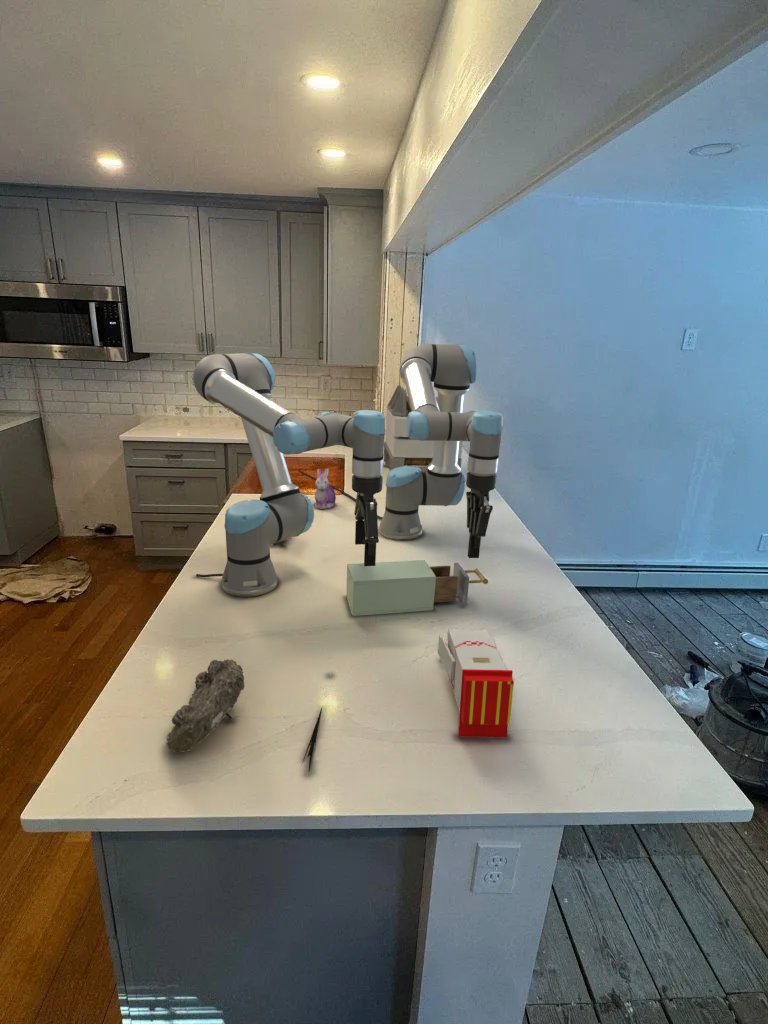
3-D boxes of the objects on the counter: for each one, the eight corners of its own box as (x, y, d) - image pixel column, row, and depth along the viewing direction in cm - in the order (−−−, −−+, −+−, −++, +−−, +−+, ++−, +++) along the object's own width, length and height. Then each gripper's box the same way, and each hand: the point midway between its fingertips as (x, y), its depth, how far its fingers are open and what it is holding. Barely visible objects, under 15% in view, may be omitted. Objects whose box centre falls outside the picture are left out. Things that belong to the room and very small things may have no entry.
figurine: (318, 511, 218) (318, 473, 213) (309, 502, 226) (309, 466, 221) (341, 508, 222) (341, 471, 217) (331, 500, 231) (331, 464, 226)
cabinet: (422, 592, 160) (425, 559, 156) (433, 610, 150) (436, 576, 147) (346, 597, 155) (347, 563, 152) (352, 616, 146) (353, 581, 142)
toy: (488, 613, 130) (523, 677, 101) (484, 667, 133) (517, 744, 104) (435, 612, 130) (455, 676, 101) (432, 666, 133) (451, 743, 103)
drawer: (475, 586, 162) (478, 561, 159) (487, 602, 154) (490, 575, 151) (385, 592, 156) (387, 566, 154) (393, 608, 148) (394, 581, 145)
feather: (331, 679, 122) (336, 673, 122) (307, 777, 96) (313, 769, 95) (324, 675, 122) (329, 669, 121) (298, 772, 95) (304, 764, 95)
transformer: (382, 463, 289) (386, 382, 275) (445, 464, 293) (451, 384, 279) (390, 482, 257) (394, 392, 243) (460, 483, 261) (468, 394, 247)
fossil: (192, 660, 117) (244, 628, 112) (224, 691, 120) (276, 661, 115) (142, 746, 98) (202, 712, 93) (182, 779, 101) (242, 748, 96)
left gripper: (393, 490, 128) (389, 574, 135) (372, 461, 151) (370, 535, 158) (361, 490, 126) (358, 576, 134) (344, 461, 149) (343, 536, 156)
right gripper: (506, 479, 140) (495, 566, 148) (486, 465, 152) (477, 546, 160) (477, 480, 138) (468, 568, 146) (459, 466, 150) (452, 547, 158)
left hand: (364, 554), depth 146 cm, fingers open, 13 cm apart
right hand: (473, 556), depth 153 cm, fingers closed
